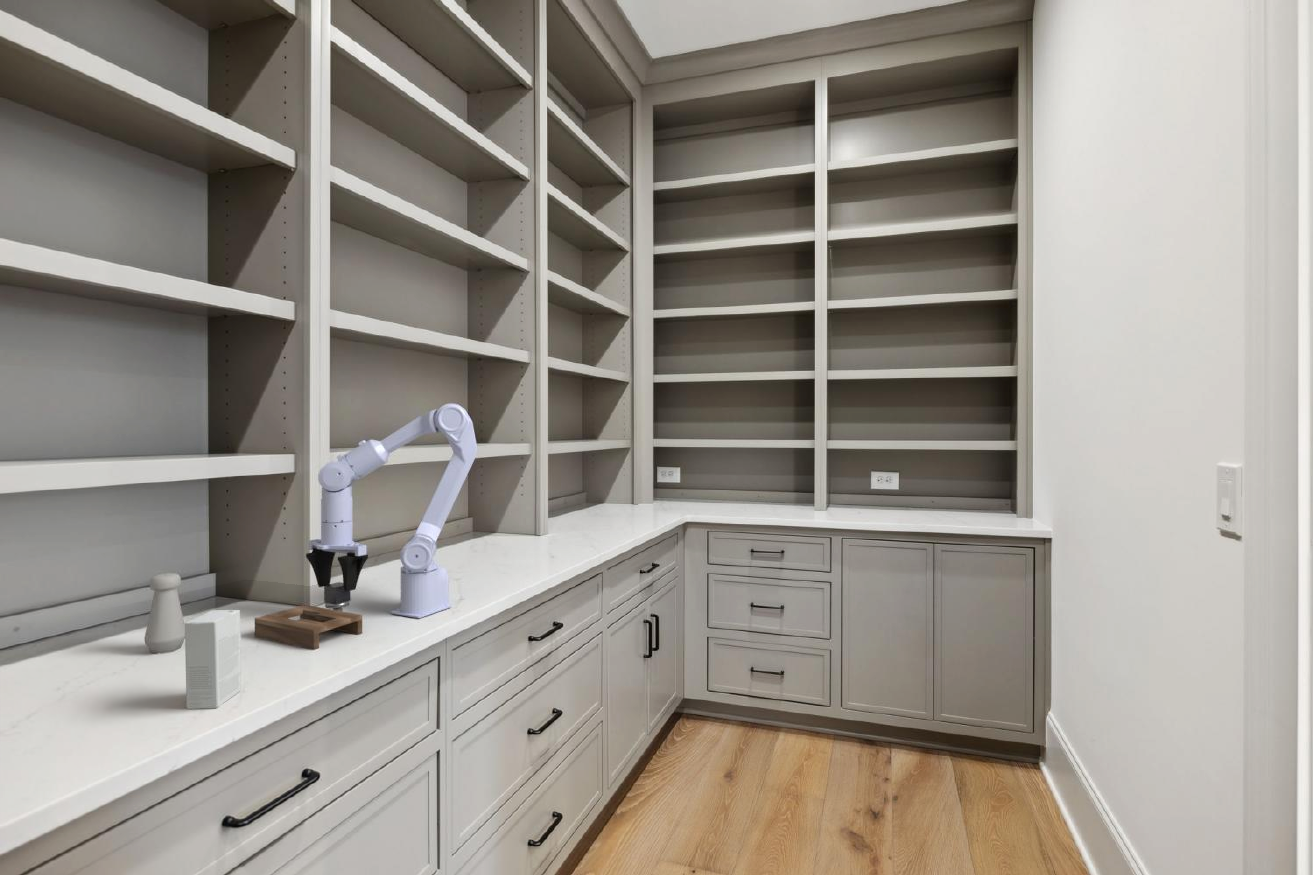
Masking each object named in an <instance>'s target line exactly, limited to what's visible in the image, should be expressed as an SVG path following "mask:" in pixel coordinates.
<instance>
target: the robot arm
mask: <svg viewBox="0 0 1313 875" xmlns="http://www.w3.org/2000/svg"><path fill="white" fill-rule="evenodd" d="M440 432H441V433H442V434H443V435H444V436H445V437H446V439H447V442H448V443H449V445H450V448H451V450H452V452H453V453H452V456H451V457H450V459H449V462H448V464H447V466H446V468H445V471H444V472H443V474H442V477H441V479H440V481H439V483H438V485H437V487H436V490H435V491H434V493H433V496H432V497H431V500H430V502H429V504H428V506H427V508H426V511H425V513H424V515H423V516H422V519H421V521H420V524H418V527H417V529H416V531H415V533H414V535H412V536H410V538H409V539H408V540H407V541H406V544H405V545H403V547H402V548H401V551H400V555H399V556H400V562H401V564H402V566H401V567H400V607H399V608H397V609H394V610H391V612H390V613H391V615H392V614H393V615H397V616H403V617H408V618H409V617H410V618H416V619H421V618H425V617H426V616H430V615H432V614H436V613H439V612H441V611H443V610H446V609H451V608H452V606H453V605H452V604H450V603H449V602H450V589H449V588H450V586H449V585H450V584H449V582H450V579H449V578H450V577H449V574H448V571H447V570H446V568H444V566H442V565H439V564H437V563H436V562H435V561H434V556H435V555H436V552H437V540H438V538H439V535H440V533H441V531H442V530H443V527H444V525H445V524H446V523H445V522H447V519H448V517H449V515H450V513H451V510H452V508H453V506H454V503H455V501H456V500H457V498H458V495H459V493H460V491H461V489H462V487H463V485H464V482H465V481H466V478H467V476H468V474H469V472H470V470H471V468H472V465H473V464H474V461H475V459H476V457H477V454H478V449H479V448H478V444H477V438H476V435H475V429H474V422H473V420H472V418H471V417H470V415H469V414H468V411H467V410H466V409H465V408H464V407H462V406H461V405H459V404H458V403H446V404H444V405H441V407H440V408H438V409H436V408H435V409H433V410H431V411H428V412H427V413H424V414H422V415H420V416H418V417H416V418H415V419H413V420H412V421H410V422H408V423H407V424H405V425H404V426H402V427H401V428H399V429H396V431H394V432H393V433H391V434H389V435H388V436H386V437H385V438H383V439H382V440H376V439H369V440H367V441H366V440H365V439H364V440H363V439H362V440H361V441H360V442H358V446H357V447H355V448H353V449H352V450H350V451H349V452H347V453H345V454H343V453H341V454H339V455H337V456H336V459H337V461H329V462H327V463H325V465H324V466H322V467H321V468H320V470H319V471H318V476H317V478H318V482H319V485H320V486H321V499H320V529H321V530H320V533H321V534H320V539H310V540H308V550H309V551H311V552H307V553H305V558H306V559H307V561H308V562H309V564H310V565H311V567H312V570H313V573H314V575H315V579H316V583H317V586H318V588H324V586H325V585H329V584H331V578H332V567H333V562H334V558H335V555H336V553H339V554H343V555H342V556H338V557H337V560H338V563H339V565H340V566H339V567H340V569H341V572H342V583H343V585H344V590H345V591H350V592H351V591H354V590H356V589H357V585H358V581H359V578H360V574H361V572H362V569H363V568H364V567H363V566H365V563H366V561H367V560H368V558H369V554H367V544H361V543H359V542H356V541H354V540H353V529H354V528H353V527H354V526H353V524H354V523H353V522H354V521H353V520H354V519H353V516H354V515H353V512H354V511H353V503H354V502H353V501H354V500H353V485H354V482H355V481H356V480H361V479H363V478H364V477H366V476H367V475H369V474H370V473H373V471H376V470H377V469H380V468H381V467H382V466H384V465H385V464H387V463H388V460H389V456H390V454H392V452H395V451H396V450H398V449H400V448H401V447H403V446H405V445H407V444H408V443H411V442H412V441H414V440H416V439H418V438H420V437H421V436H423V435H426V434H437V433H440Z"/></svg>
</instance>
